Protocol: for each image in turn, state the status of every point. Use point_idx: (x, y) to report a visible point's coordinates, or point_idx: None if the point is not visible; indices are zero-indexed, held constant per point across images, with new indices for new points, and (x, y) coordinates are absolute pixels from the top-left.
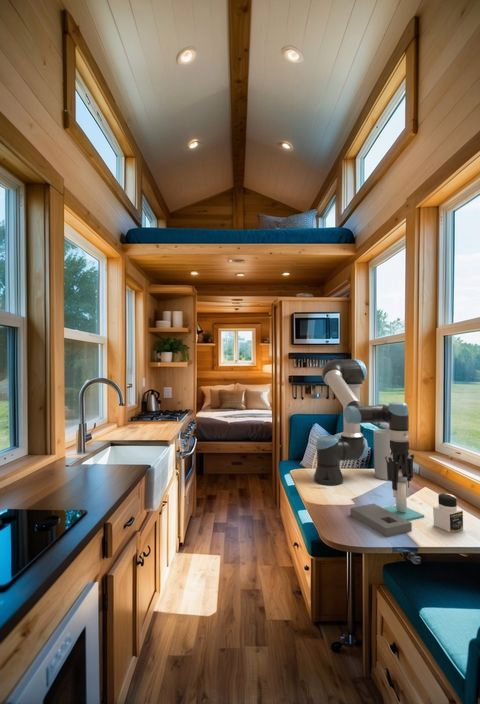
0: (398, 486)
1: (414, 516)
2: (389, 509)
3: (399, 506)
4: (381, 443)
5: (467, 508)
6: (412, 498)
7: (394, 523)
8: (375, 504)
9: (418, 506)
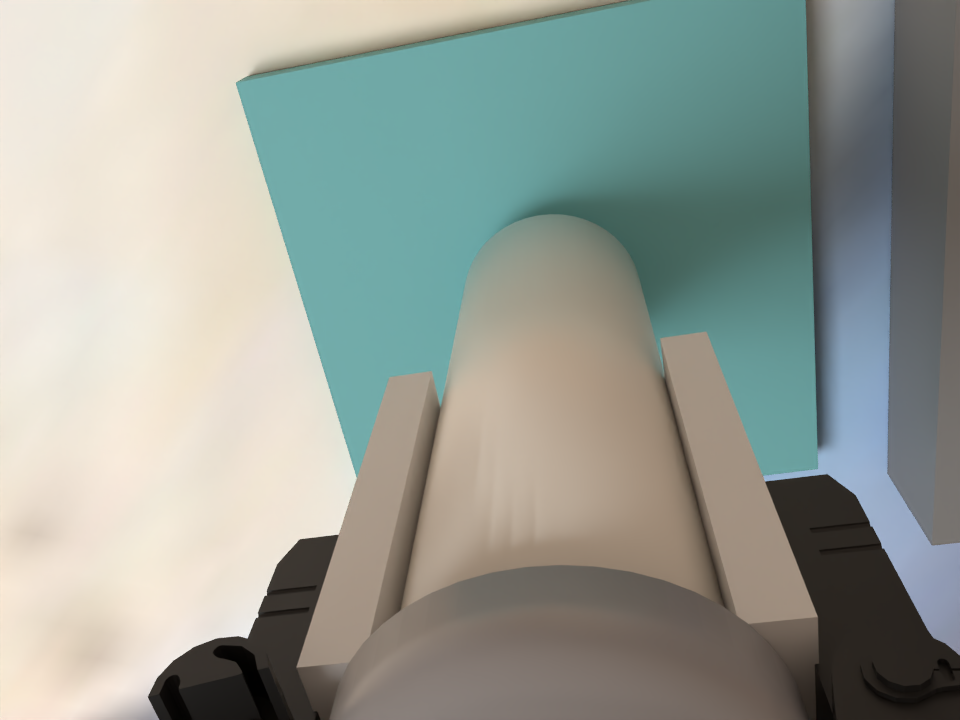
0: (759, 526)
1: (444, 72)
2: None
3: (636, 287)
4: None
5: None
6: (66, 673)
7: None
8: (939, 504)
9: (116, 452)
